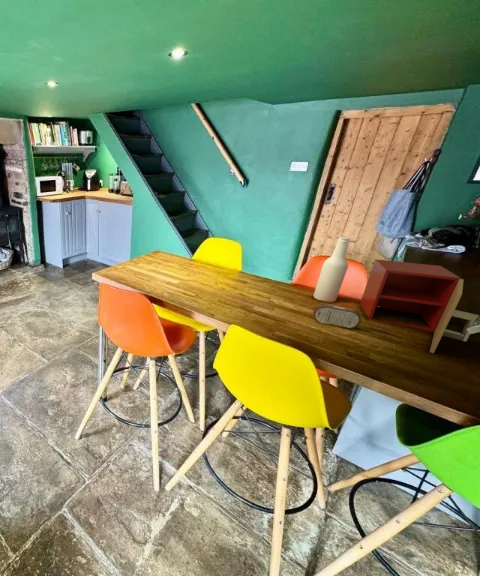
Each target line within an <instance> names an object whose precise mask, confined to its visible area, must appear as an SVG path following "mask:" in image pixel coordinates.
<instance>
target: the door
mask: <svg viewBox="0 0 480 576" xmlns="http://www.w3.org/2000/svg"><path fill="white" fill-rule="evenodd" d="M463 289H464V279H463V278H460V279H459V281H458V283H457V285H456V287H455V289H454V291H453V294H452V296H451V298H450V300H449V302H448V304H447V307H446V309H445V311H444V313H443V315H442V317H441V319H440V322H439V324H438V326H437V328H436V330H435V332H433V336H432V337H433V338H432V341H431V345H430V349H429V353H431V354H435V352H436V350H437V348H438V345H439V343H440V341H441V339H442V337H446V338H450V339H455V340H458V341H462V342H468V339H469V338H470V336H471V334H470V333H469V332H468V331H467V329H466V328H467V327H470V326H475V324H476V322H477V320H478V318H480V315H479V314H476V313H471V312H467V311H463V310H459V309H458V310H457V306H458V304H459V302H460V300H461V297H462V296H463ZM452 317H454V318H459V319H463V320H466V323H465V324H466V325H465V324H464V326H463V328H462V331H461V332H458V331H455V330H451V329H447V327H448V325H449V322H450V321H451V318H452Z"/></svg>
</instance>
